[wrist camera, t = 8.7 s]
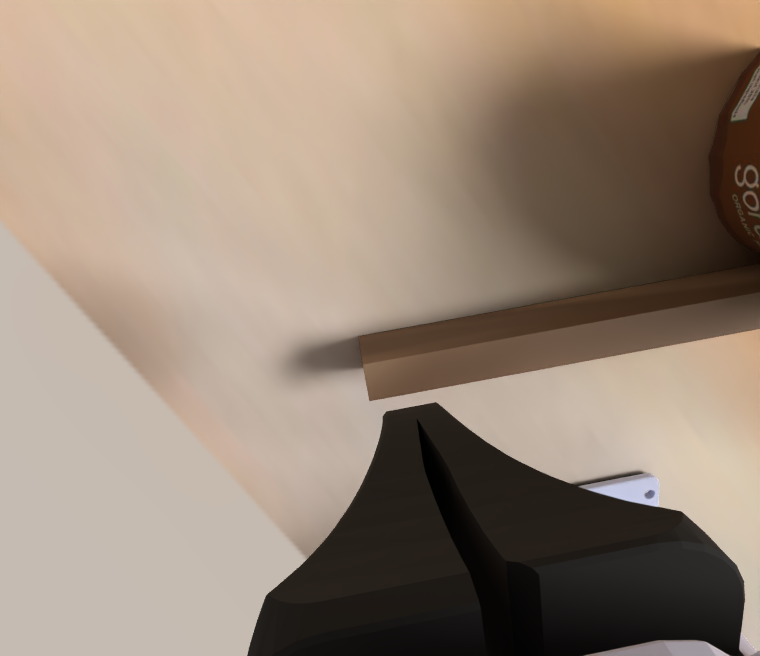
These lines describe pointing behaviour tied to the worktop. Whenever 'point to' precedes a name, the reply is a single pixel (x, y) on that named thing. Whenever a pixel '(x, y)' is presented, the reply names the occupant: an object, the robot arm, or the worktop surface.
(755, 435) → the worktop surface
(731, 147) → the food container
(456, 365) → the rail
